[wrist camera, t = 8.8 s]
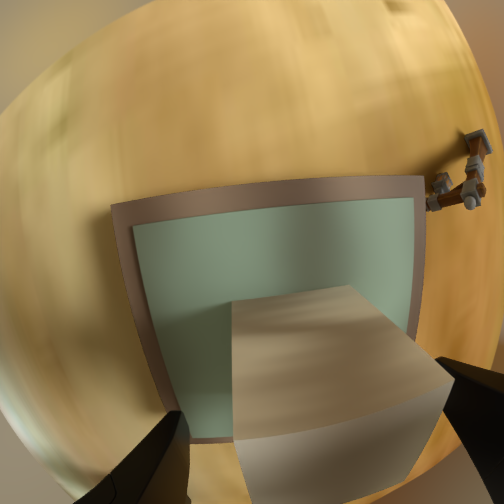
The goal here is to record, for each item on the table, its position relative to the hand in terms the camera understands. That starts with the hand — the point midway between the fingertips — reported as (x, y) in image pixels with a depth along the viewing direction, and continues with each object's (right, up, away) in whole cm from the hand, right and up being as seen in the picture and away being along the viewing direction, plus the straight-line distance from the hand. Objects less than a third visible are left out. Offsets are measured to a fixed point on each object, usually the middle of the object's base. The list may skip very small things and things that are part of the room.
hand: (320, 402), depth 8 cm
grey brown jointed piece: (+11, +10, +6) cm, 16 cm away
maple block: (0, +1, +4) cm, 4 cm away
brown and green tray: (-1, +1, +7) cm, 7 cm away
